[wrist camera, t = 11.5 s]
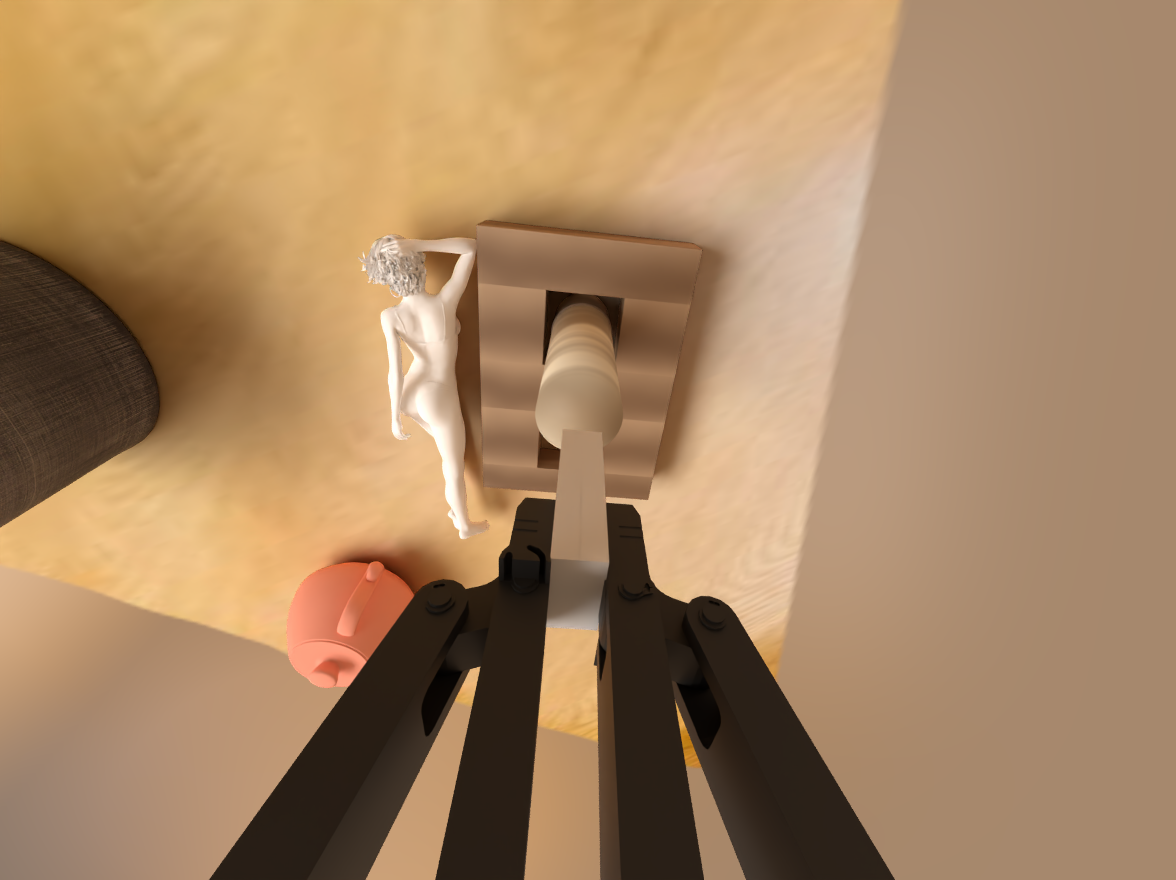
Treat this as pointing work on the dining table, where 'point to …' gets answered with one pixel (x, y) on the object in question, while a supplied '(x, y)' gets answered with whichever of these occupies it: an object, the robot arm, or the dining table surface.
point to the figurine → (427, 352)
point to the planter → (62, 383)
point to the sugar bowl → (342, 620)
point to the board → (518, 350)
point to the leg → (580, 373)
